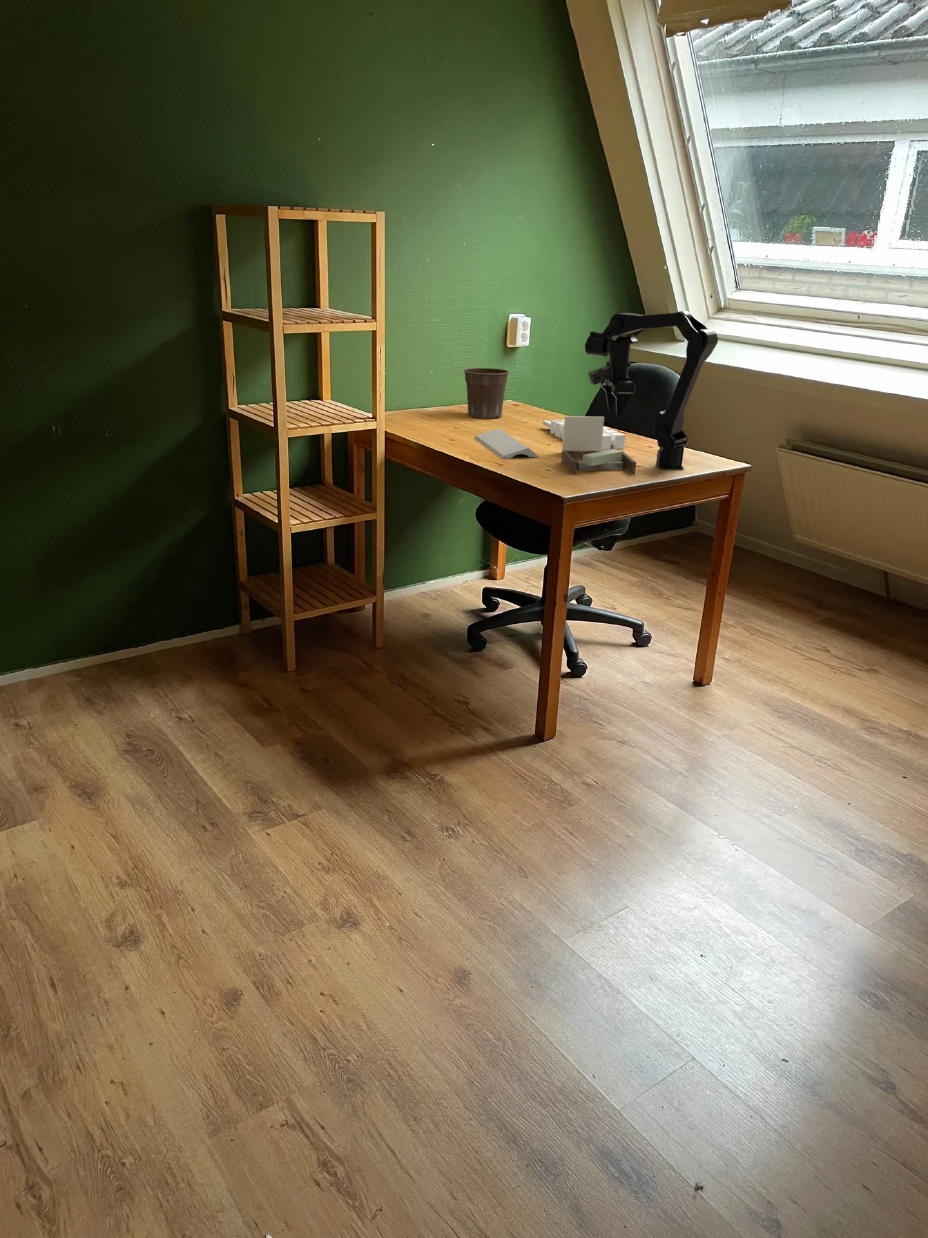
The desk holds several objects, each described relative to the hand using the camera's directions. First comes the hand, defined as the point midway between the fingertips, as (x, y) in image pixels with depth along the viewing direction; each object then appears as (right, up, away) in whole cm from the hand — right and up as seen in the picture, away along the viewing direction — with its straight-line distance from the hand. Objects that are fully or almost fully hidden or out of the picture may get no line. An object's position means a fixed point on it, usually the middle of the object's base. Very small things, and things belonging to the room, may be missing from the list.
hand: (614, 412), depth 269 cm
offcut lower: (-6, -19, -11) cm, 23 cm away
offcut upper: (-5, -17, -11) cm, 21 cm away
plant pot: (-37, +12, +58) cm, 70 cm away
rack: (-7, -18, -10) cm, 22 cm away
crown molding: (-32, -9, +11) cm, 35 cm away
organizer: (-7, -3, +28) cm, 29 cm away
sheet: (-9, -11, +8) cm, 16 cm away
